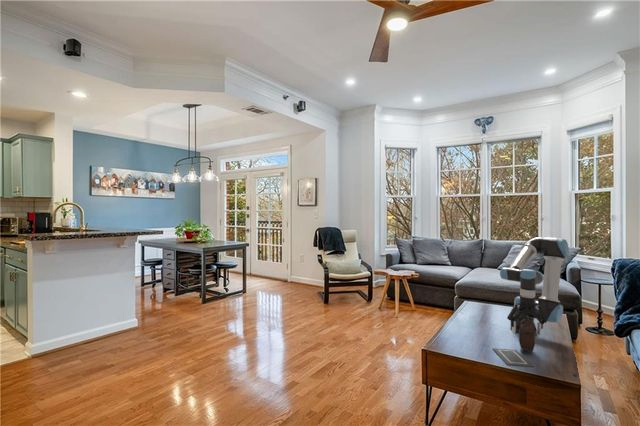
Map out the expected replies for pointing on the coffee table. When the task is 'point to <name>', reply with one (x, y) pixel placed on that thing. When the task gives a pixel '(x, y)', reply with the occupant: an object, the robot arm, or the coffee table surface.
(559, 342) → the coffee table surface
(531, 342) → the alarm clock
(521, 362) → the rest mat
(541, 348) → the coffee table surface
